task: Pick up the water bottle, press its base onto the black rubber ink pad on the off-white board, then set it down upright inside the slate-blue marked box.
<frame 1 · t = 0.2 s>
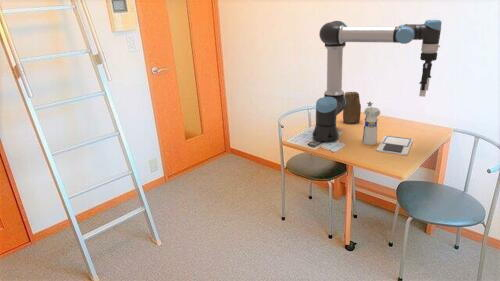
hand: (423, 93, 189), 28 cm above the table, fingers open, 13 cm apart
block: (351, 122, 236), on the table
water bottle: (369, 142, 203), on the table
stamp station: (395, 145, 196), on the table
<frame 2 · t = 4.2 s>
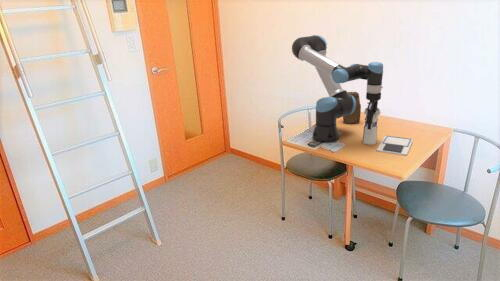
hand: (370, 132, 200), 6 cm above the table, fingers closed on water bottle, 7 cm apart
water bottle: (369, 142, 203), on the table, touching gripper
everything else where it was.
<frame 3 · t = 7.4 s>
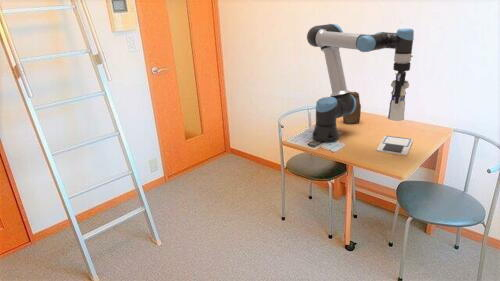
hand: (397, 107, 182), 24 cm above the table, fingers closed on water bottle, 7 cm apart
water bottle: (396, 119, 185), point 17 cm above the table, touching gripper
everything else where it was.
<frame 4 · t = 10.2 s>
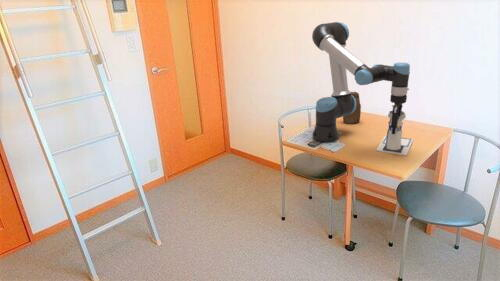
hand: (394, 136, 188), 7 cm above the table, fingers closed on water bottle, 7 cm apart
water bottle: (393, 147, 191), point 1 cm above the table, touching gripper, stamp station
everything else where it was.
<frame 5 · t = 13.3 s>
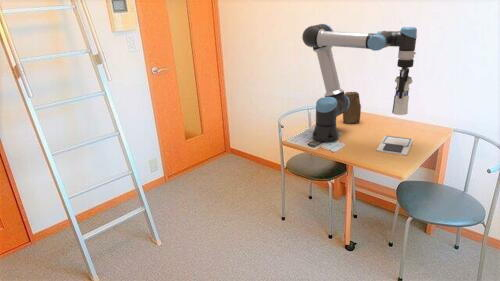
hand: (401, 102, 191), 23 cm above the table, fingers closed on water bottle, 7 cm apart
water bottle: (400, 113, 194), point 17 cm above the table, touching gripper
everything else where it was.
when the fingers open (8 cm above the table, at t = 16.3 s): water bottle moves 1 cm, resting on stamp station.
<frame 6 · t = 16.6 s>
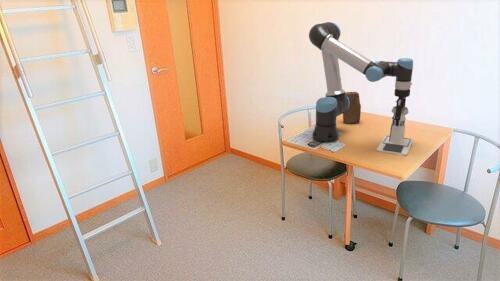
hand: (398, 128, 197), 9 cm above the table, fingers open, 10 cm apart
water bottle: (396, 141, 200), point 1 cm above the table, touching stamp station
everything else where it was.
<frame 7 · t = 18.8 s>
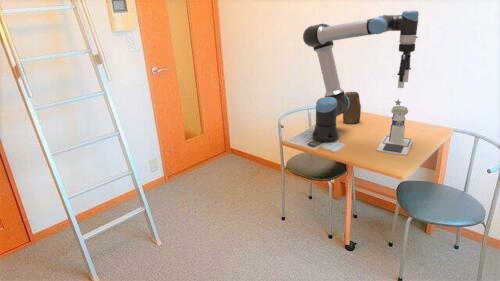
hand: (402, 84, 188), 33 cm above the table, fingers open, 13 cm apart
nothing on the table moved.
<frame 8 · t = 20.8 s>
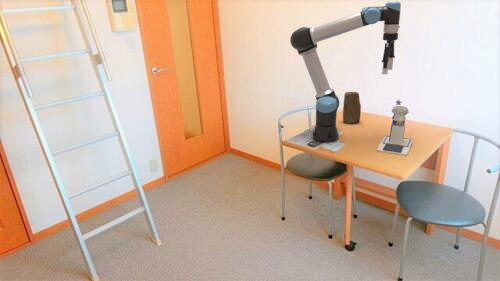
hand: (387, 71, 201), 37 cm above the table, fingers open, 13 cm apart
nothing on the table moved.
at the end: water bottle inside the target area on the stamp station (0.1 cm from its centre), point 0.6 cm above the stamp station's base; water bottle tilted 0°; the gripper is holding nothing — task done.
